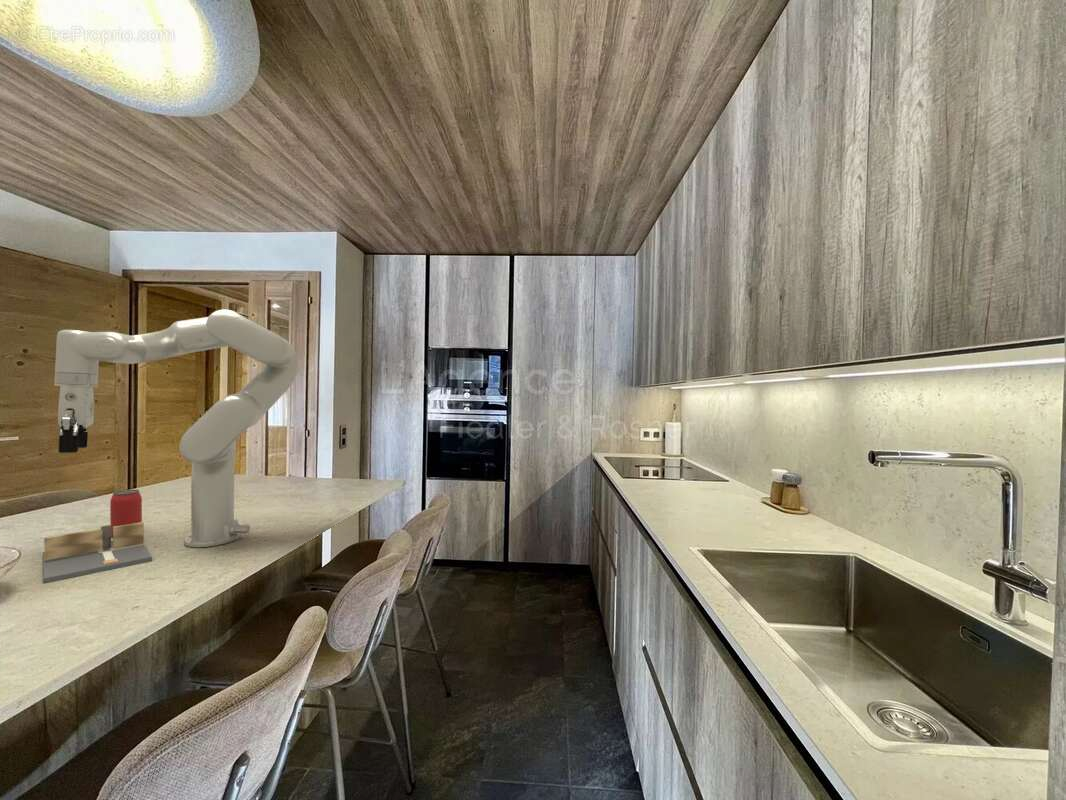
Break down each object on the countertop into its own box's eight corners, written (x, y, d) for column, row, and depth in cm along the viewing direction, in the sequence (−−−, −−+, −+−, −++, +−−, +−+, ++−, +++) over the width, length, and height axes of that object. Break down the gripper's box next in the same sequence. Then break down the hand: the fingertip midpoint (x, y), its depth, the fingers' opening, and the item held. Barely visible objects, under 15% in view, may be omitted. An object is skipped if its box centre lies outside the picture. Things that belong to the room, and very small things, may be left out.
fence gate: (110, 546, 113) (110, 524, 113) (111, 548, 111) (111, 526, 111) (44, 558, 104) (44, 534, 104) (44, 560, 103) (44, 536, 103)
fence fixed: (143, 543, 117) (142, 522, 117) (143, 544, 116) (143, 522, 116) (113, 548, 113) (112, 526, 113) (113, 549, 112) (113, 527, 112)
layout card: (138, 539, 123) (138, 535, 123) (152, 560, 108) (151, 556, 108) (43, 556, 110) (42, 551, 110) (43, 583, 95) (43, 577, 95)
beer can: (127, 538, 124) (127, 494, 123) (103, 537, 124) (103, 494, 124) (148, 530, 130) (148, 489, 130) (125, 530, 130) (125, 488, 130)
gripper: (90, 381, 107) (86, 454, 107) (104, 381, 121) (101, 445, 121) (44, 379, 103) (40, 455, 103) (64, 379, 117) (61, 446, 117)
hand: (73, 449), depth 112 cm, fingers open, 9 cm apart
